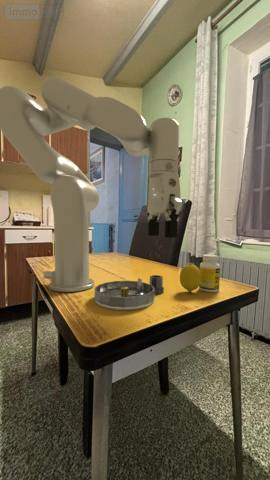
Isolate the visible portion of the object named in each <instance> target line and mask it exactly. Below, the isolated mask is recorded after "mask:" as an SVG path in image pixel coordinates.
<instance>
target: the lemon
mask: <svg viewBox="0 0 270 480" xmlns="http://www.w3.org/2000/svg"><path fill="white" fill-rule="evenodd" d="M200 282H201V274H200V268H198V266H196V265H195V264H193V263H192V262H189V263H188V264H186V265H184V266H183V267H182V268H181V270H180V273H179V283H180V285H181V287H182V288H183V289H184V290H186V291H187V292H188V293H192V292H193V291H196V290H197V289H199V285H200Z"/></svg>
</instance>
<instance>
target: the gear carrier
mask: <svg viewBox="0 0 270 480" xmlns="http://www.w3.org/2000/svg"><path fill="white" fill-rule="evenodd" d="M155 296H156V294H155V288H154V287H153V286H152V285H150V283H147V282H143V278H141V277H138V278H137V280H115V281H105V282H103V283H100V284H98V285H97V286H95V287H94V302H95V305H97V306H98V307H100V308H102V309H105V310H109V311H110V310H111V311H119V312H122V311H123V312H126V311H127V312H128V311H137V310H143V309H146V308H149V307H150V306H152V305H153V304H154V303H155Z"/></svg>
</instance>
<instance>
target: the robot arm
mask: <svg viewBox="0 0 270 480" xmlns="http://www.w3.org/2000/svg"><path fill="white" fill-rule="evenodd" d="M40 94H41V98H42V101H43V102H44V104H45V106H46V108H45V107H44V106H42V105H41V104H40V103H39V102H38V101H37V100H36V99H34V98H33V96H31V95H30V94H29V93H27V92H25V91H24V90H23V89H21V88H19V87H16V86H12V85H4V86H2V87H0V131H1V133H2V134H3V136H4V137H5V138H6V139H7V140H8V142H9V143H10V145H11V146H12V147H13V148H14V149H15V150H16V151H17V153H18V154H19V155H20V157H21V158H22V160H24V162H25V163H26V164H27V166H28V167H29V168H30V169H31V171H32V172H33V173H34V174H35V176H36V177H37V178H38V179H39V180H41V181H42V182H44V183H47V184H50V185H51V186H50V193H49V194H50V201H51V208H52V214H53V227H54V229H53V230H54V231H53V232H54V270H53V271H51V270H45V271H44V274H43V279H50V280H51V282H50V283H49V284H48V285H49V287H48V288H49V289H50V290H52V291H54V292H60V293H61V292H62V293H71V292H72V293H74V292H81V291H86V290H89V289H91V288H93V287H94V286H95V280H94V279H92V278H90V232H89V231H90V229H89V228H90V226H89V218H88V212H89V213H90V212H92V211H93V210H95V209H96V208H97V207H98V205H99V201H100V194H99V191H98V190H97V188H96V186H95V185H94V184H93V183H92V182H91V181H90V180H89V179H88V177H87V176H86V175H85V174H84V173H83V172H82V170H81V169H80V168H79V166H77V165H76V163H74V162H73V161H72V160H71V159H69V158H68V157H67V156H65V155H63V154H62V153H60V152H58V151H57V150H55V148H53V146H52V145H50V143H48V141H47V139H46V138H44V137H47V136H51V135H53V134H56V133H59V132H62V131H65V130H68V129H71V128H74V127H75V126H79V127H81V128H82V129H84V130H86V131H92V130H94V129H95V128H98V129H100V130H101V131H104V132H106V133H108V134H109V135H111V136H112V137H115V138H116V139H118V141H119V142H120V143H121V144H122V145H121V146H123V148H124V149H125V151H126V152H127V153H128V154H129V155H130V156H133V157H142V156H147V155H148V158H149V159H148V178H150V179H149V185H148V196H147V197H148V199H147V207H146V214H147V215H146V216H147V224H148V225H147V235H148V236H151V237H153V236H154V237H157V236H159V235H160V221H159V219H160V217H161V215H162V216H165V219H166V220H164V238H167V239H168V238H170V239H171V238H172V239H173V238H174V239H175V238H177V237H178V222H179V221H180V215H181V213H182V212H181V211H182V207H183V200H181V183H180V177H179V149H180V148H179V146H180V144H179V143H180V142H179V141H180V126H179V123H178V121H177V120H176V119H174V118H172V117H159V118H157V119H155V120H153V121H152V123H151V124H150V126H149V127H148V126H147V123H146V120H145V118H144V117H143V115H142V114H141V113H139V112H138V111H137V110H136V109H134V108H133V107H131V106H129V105H127V104H125V103H124V102H122V101H120V100H117V99H115V98H113V97H108V96H95V95H93V94H90V93H88V92H86V91H84V90H83V89H81V88H79V87H77V86H75V85H74V84H72V83H70V82H68V81H66V80H65V79H61V78H58V77H55V76H54V77H48V78H45V80H44V81H43V83H42V85H41V88H40Z"/></svg>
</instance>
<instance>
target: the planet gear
mask: <svg viewBox="0 0 270 480" xmlns="http://www.w3.org/2000/svg"><path fill="white" fill-rule="evenodd" d="M163 278H164V277H163V276H162V275H157V274H155V275H149V284H150V285H152V286H153V287H154V288H155V295H162V294H164V293H165V292H164V291H165V287H164V285H163V283H164V279H163Z"/></svg>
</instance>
